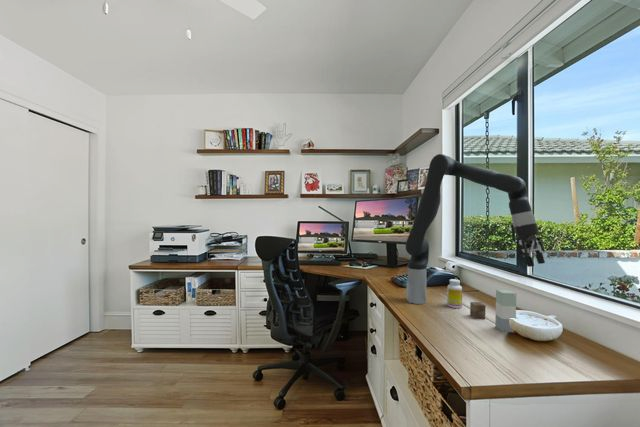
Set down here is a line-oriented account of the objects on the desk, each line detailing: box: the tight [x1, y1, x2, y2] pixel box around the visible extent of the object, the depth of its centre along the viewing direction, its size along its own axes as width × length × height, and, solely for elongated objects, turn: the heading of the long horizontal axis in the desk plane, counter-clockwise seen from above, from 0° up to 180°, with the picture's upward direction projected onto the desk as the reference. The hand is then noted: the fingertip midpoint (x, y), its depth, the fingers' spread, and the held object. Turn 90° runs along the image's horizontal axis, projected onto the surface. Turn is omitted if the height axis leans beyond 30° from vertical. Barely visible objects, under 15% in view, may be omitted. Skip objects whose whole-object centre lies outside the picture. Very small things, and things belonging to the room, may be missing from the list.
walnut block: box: [469, 301, 486, 320], centre depth 128 cm, size 4×4×6 cm
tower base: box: [494, 314, 515, 333], centre depth 115 cm, size 5×5×5 cm
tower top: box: [495, 289, 517, 308], centre depth 115 cm, size 5×5×5 cm
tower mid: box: [495, 301, 517, 320], centre depth 115 cm, size 5×5×5 cm
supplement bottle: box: [446, 278, 463, 309], centre depth 142 cm, size 7×7×13 cm
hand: (536, 264), depth 113 cm, fingers open, 8 cm apart
